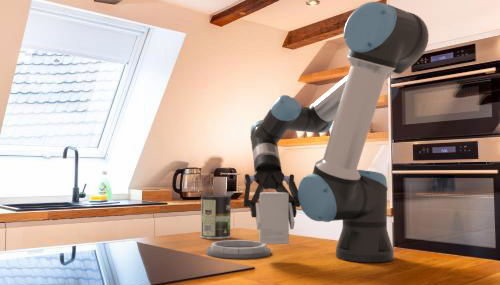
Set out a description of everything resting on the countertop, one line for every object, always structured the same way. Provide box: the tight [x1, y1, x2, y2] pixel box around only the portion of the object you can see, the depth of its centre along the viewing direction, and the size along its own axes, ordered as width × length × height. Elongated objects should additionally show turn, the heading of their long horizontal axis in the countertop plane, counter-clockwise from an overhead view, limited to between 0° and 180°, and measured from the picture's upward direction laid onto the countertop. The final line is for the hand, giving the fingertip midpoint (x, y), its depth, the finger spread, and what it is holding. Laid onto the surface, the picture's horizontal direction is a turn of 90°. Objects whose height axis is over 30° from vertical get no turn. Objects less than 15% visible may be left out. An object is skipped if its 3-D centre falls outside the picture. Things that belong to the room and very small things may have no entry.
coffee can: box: [200, 194, 232, 240], centre depth 168 cm, size 10×10×14 cm
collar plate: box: [205, 239, 272, 260], centre depth 137 cm, size 18×18×2 cm
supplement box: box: [258, 191, 290, 245], centre depth 126 cm, size 7×7×13 cm
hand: (275, 225), depth 122 cm, fingers closed on supplement box, 8 cm apart
